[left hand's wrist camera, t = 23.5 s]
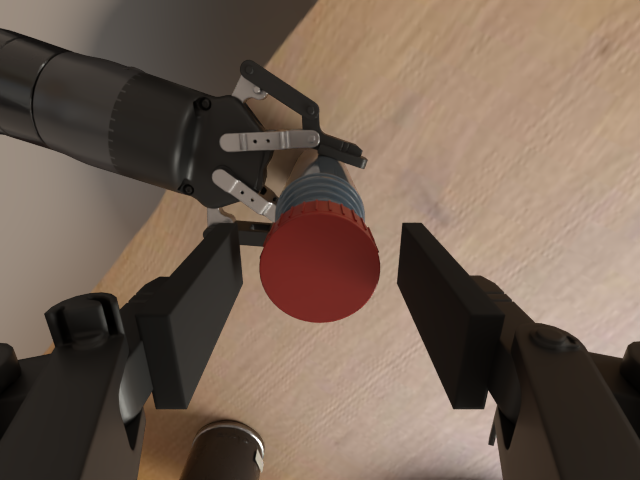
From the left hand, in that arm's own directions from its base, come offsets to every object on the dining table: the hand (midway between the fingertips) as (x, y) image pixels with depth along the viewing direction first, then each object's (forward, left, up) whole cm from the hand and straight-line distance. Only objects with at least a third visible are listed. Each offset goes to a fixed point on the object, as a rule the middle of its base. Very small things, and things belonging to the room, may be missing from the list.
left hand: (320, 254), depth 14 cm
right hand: (-2, +2, -13) cm, 14 cm away
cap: (0, 0, +1) cm, 1 cm away
